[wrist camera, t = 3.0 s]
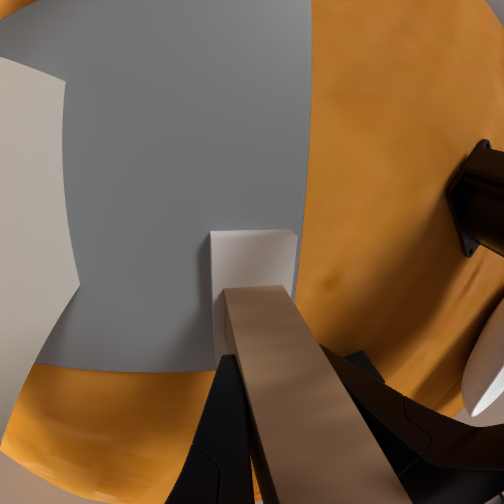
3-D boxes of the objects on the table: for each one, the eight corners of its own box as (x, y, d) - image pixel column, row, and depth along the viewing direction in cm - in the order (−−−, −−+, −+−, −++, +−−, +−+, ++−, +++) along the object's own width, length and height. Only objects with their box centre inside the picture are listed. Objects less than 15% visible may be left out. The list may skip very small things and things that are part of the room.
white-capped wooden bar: (290, 229, 10) (501, 460, 1) (277, 349, 12) (359, 538, 4) (210, 231, 10) (302, 583, 1) (214, 356, 12) (259, 567, 3)
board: (297, -7, 8) (310, -21, 6) (277, 344, 14) (284, 362, 13) (-62, 78, 3) (-75, 78, 2) (-29, 334, 10) (-38, 346, 9)
